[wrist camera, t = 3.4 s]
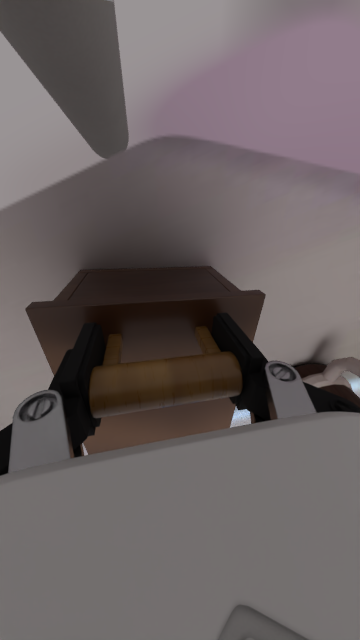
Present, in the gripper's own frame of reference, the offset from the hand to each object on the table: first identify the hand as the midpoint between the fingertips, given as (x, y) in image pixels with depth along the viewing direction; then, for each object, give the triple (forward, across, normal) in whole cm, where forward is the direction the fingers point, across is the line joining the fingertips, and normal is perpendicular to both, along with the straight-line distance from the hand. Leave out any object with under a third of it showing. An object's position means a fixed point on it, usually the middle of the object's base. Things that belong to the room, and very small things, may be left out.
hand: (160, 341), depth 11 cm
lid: (+1, 0, +6) cm, 6 cm away
